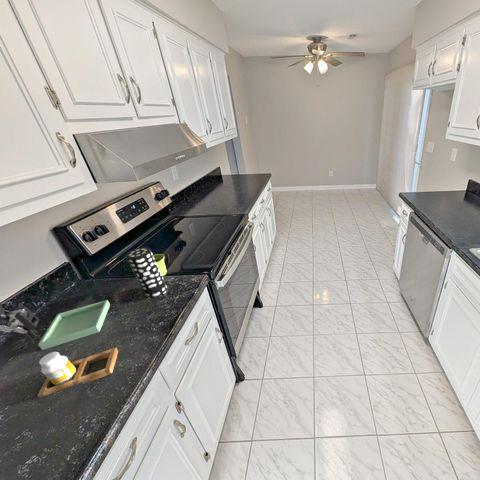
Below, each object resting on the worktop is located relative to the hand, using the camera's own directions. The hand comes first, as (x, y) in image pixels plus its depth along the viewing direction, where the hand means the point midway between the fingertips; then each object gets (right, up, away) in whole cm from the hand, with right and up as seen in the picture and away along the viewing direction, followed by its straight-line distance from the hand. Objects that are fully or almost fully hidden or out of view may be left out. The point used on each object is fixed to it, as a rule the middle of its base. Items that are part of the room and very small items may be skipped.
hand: (10, 343), depth 62 cm
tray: (-13, -6, +32) cm, 35 cm away
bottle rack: (+5, -15, +14) cm, 21 cm away
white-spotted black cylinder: (+6, +3, +46) cm, 47 cm away
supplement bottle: (+2, -16, +12) cm, 20 cm away
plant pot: (0, +9, +59) cm, 59 cm away
